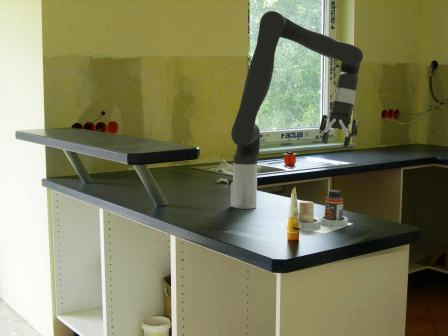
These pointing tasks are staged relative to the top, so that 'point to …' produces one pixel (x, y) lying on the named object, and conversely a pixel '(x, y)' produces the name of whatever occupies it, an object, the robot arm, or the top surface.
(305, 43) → the robot arm
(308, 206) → the dowel
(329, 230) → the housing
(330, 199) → the supplement bottle
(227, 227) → the top surface
